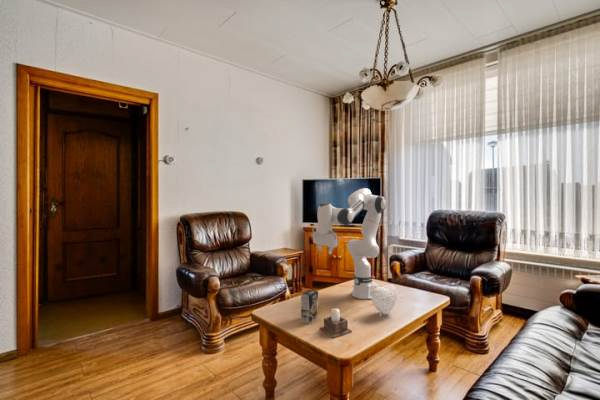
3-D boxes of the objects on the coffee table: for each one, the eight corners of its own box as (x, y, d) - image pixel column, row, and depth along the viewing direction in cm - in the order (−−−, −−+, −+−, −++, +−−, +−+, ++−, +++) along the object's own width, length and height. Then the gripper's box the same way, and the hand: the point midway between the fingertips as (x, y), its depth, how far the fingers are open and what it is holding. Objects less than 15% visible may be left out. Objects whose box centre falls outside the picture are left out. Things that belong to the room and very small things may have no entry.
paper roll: (335, 326, 159) (336, 307, 159) (341, 329, 155) (341, 310, 155) (329, 328, 157) (329, 309, 157) (334, 331, 153) (334, 312, 153)
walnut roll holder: (336, 323, 164) (336, 312, 164) (351, 332, 154) (351, 320, 154) (319, 329, 158) (319, 318, 158) (334, 338, 148) (334, 326, 148)
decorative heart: (380, 321, 168) (380, 291, 167) (367, 314, 177) (367, 286, 176) (401, 314, 177) (401, 285, 177) (387, 308, 186) (388, 281, 186)
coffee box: (310, 324, 163) (310, 295, 163) (300, 321, 167) (300, 293, 166) (318, 318, 171) (318, 290, 171) (308, 316, 175) (308, 288, 174)
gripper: (340, 231, 171) (340, 255, 172) (318, 227, 188) (319, 249, 189) (331, 232, 168) (332, 256, 168) (310, 228, 185) (311, 250, 185)
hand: (325, 252), depth 178 cm, fingers open, 8 cm apart
